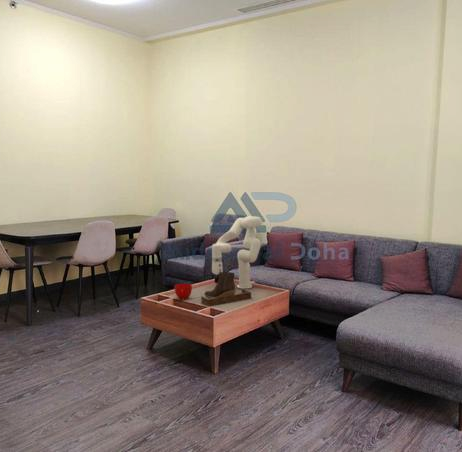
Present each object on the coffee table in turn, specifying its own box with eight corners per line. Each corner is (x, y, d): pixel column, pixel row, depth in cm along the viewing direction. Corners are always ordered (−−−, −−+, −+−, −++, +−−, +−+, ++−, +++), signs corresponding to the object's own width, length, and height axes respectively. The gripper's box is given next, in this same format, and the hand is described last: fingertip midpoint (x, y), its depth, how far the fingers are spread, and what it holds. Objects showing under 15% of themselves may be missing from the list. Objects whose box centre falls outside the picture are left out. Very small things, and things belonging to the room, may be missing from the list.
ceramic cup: (173, 302, 335) (173, 289, 334) (175, 296, 351) (175, 283, 350) (191, 302, 336) (191, 288, 335) (192, 295, 352) (192, 283, 351)
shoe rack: (243, 295, 353) (243, 289, 353) (251, 298, 344) (251, 292, 344) (201, 302, 333) (201, 296, 333) (208, 306, 324) (208, 299, 324)
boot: (205, 295, 353) (205, 270, 351) (236, 296, 350) (236, 270, 348) (203, 298, 344) (202, 272, 342) (234, 299, 342) (234, 273, 340)
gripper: (225, 260, 351) (225, 284, 353) (216, 257, 364) (216, 280, 366) (217, 261, 347) (217, 285, 349) (208, 258, 360) (208, 281, 361)
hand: (216, 282), depth 357 cm, fingers closed
